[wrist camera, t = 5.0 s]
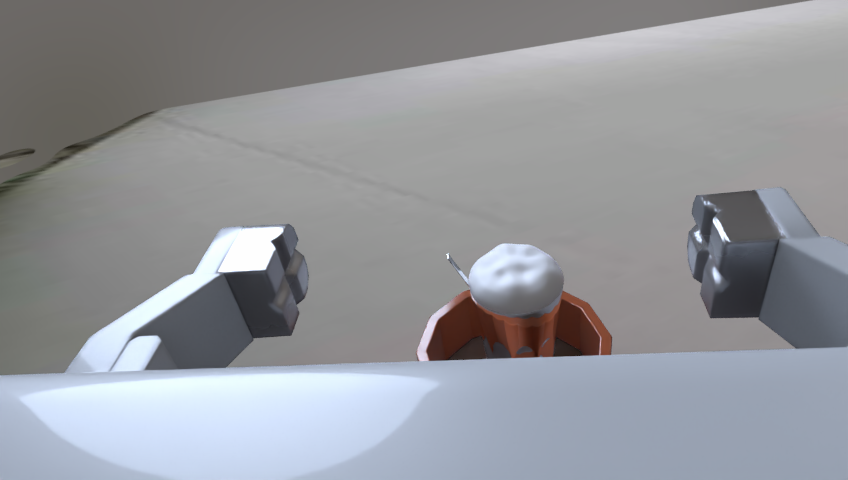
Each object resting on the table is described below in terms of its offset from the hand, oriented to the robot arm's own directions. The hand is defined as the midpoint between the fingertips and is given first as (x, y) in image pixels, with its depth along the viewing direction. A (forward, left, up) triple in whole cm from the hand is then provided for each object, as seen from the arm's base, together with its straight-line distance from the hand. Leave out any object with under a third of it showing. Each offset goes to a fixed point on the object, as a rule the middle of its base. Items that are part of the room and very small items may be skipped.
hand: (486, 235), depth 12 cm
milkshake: (-8, +9, -20) cm, 23 cm away
